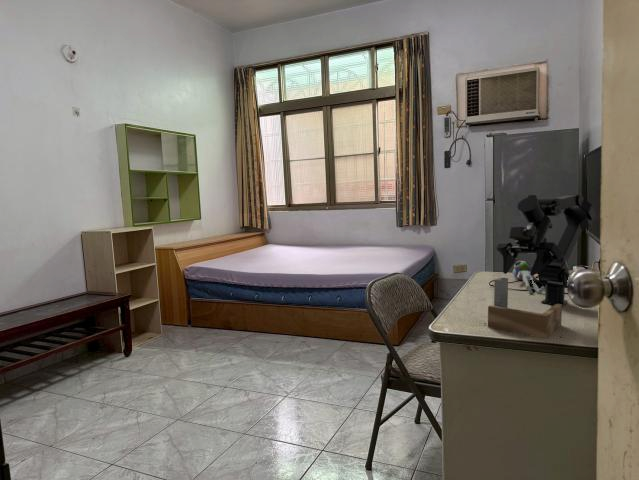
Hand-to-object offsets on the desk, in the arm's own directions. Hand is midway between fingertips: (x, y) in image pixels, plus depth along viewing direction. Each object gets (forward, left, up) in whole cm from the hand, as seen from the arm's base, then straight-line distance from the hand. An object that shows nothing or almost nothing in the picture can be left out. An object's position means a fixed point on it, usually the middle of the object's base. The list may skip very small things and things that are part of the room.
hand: (517, 273), depth 130 cm
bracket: (+9, +1, -13) cm, 16 cm away
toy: (-46, -12, -14) cm, 50 cm away
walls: (+7, +5, -13) cm, 16 cm away
